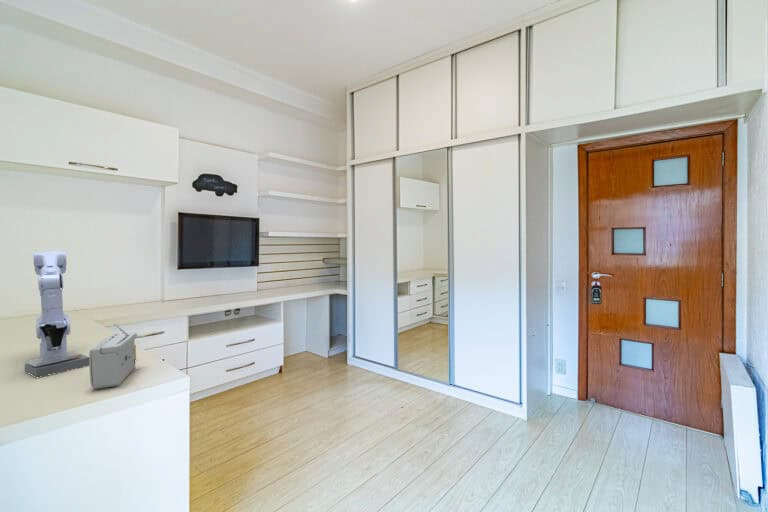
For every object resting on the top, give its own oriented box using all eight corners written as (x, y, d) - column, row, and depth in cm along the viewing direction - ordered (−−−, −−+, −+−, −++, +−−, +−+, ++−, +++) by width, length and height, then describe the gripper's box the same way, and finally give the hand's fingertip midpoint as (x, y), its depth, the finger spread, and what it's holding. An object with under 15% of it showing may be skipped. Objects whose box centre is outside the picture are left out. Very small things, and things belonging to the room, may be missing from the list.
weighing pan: (26, 363, 130) (26, 360, 130) (72, 353, 141) (72, 350, 141) (34, 366, 126) (34, 364, 126) (81, 356, 137) (81, 354, 137)
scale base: (24, 372, 132) (24, 362, 132) (76, 360, 145) (76, 351, 144) (36, 378, 126) (36, 368, 125) (90, 365, 138) (89, 356, 138)
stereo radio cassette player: (112, 369, 133) (109, 314, 132) (139, 366, 136) (136, 312, 135) (89, 391, 113) (86, 326, 113) (121, 387, 116) (118, 324, 116)
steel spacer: (45, 349, 133) (44, 336, 133) (59, 347, 136) (58, 333, 136) (49, 351, 131) (48, 337, 131) (63, 348, 134) (62, 335, 134)
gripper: (30, 307, 133) (32, 345, 134) (45, 311, 126) (47, 351, 126) (55, 304, 139) (57, 340, 140) (71, 308, 132) (72, 346, 132)
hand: (54, 345), depth 134 cm, fingers closed on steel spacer, 4 cm apart
